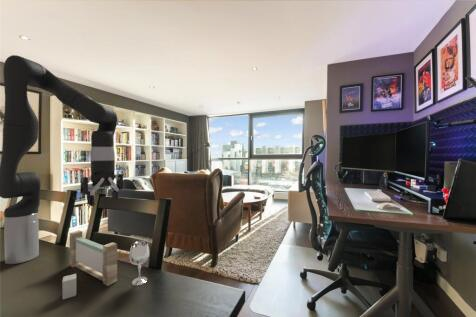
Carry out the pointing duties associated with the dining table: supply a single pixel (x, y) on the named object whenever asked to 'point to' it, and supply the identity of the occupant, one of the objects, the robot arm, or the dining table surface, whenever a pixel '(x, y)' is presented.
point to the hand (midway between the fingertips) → (103, 203)
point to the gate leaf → (89, 254)
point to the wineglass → (139, 258)
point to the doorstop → (69, 286)
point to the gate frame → (108, 260)
